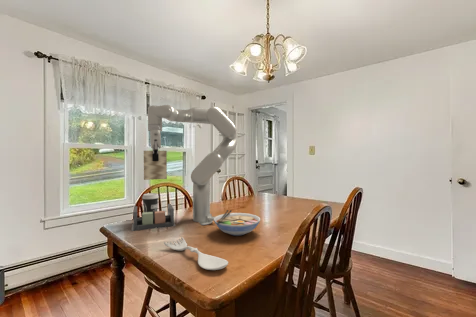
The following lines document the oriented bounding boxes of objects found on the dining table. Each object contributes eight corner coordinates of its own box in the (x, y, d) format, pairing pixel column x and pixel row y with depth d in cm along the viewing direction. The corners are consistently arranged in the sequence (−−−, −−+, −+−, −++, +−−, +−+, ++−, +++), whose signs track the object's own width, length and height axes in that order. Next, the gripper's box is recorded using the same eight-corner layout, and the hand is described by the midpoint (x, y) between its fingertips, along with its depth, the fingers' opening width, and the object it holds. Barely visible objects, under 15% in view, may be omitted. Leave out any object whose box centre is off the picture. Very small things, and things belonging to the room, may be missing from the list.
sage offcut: (152, 225, 122) (152, 211, 122) (153, 227, 118) (152, 213, 118) (142, 226, 120) (142, 212, 120) (142, 228, 117) (142, 214, 116)
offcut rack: (172, 221, 133) (172, 203, 133) (175, 228, 120) (175, 208, 120) (132, 226, 125) (132, 206, 125) (131, 234, 112) (131, 212, 112)
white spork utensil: (182, 243, 101) (182, 235, 101) (233, 268, 78) (233, 258, 78) (162, 249, 94) (162, 241, 94) (213, 278, 72) (212, 267, 72)
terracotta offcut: (164, 223, 124) (164, 210, 124) (165, 225, 121) (165, 212, 121) (154, 224, 123) (154, 211, 122) (155, 226, 119) (155, 213, 119)
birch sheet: (166, 178, 134) (166, 150, 134) (166, 178, 132) (166, 150, 132) (143, 179, 129) (143, 150, 129) (143, 179, 127) (143, 150, 127)
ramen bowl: (257, 244, 99) (257, 225, 99) (206, 240, 103) (206, 222, 103) (262, 227, 123) (262, 211, 123) (221, 224, 128) (221, 209, 128)
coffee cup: (147, 222, 132) (147, 196, 132) (138, 219, 138) (138, 194, 138) (162, 218, 140) (162, 194, 140) (153, 216, 146) (153, 192, 145)
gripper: (163, 126, 124) (163, 161, 125) (161, 130, 139) (161, 160, 139) (148, 126, 121) (148, 161, 122) (147, 129, 136) (147, 161, 136)
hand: (155, 160), depth 130 cm, fingers closed on birch sheet, 2 cm apart
